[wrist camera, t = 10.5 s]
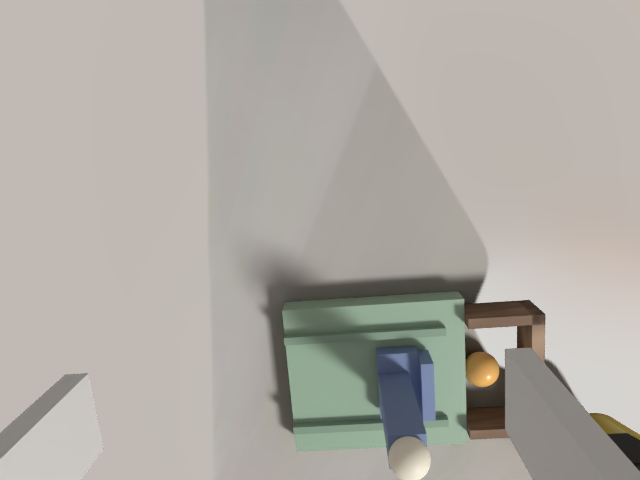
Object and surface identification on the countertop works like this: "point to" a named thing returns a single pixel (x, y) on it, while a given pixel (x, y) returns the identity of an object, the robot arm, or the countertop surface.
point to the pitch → (370, 365)
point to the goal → (528, 336)
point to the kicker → (406, 407)
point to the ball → (481, 369)
